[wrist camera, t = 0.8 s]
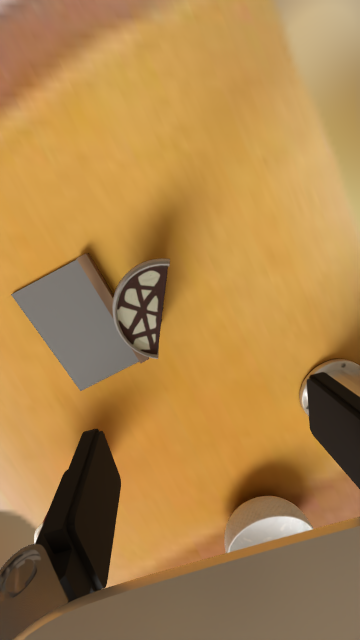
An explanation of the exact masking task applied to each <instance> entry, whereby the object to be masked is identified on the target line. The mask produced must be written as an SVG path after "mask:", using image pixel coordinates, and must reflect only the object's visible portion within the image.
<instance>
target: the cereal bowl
mask: <svg viewBox="0 0 360 640" xmlns="http://www.w3.org/2000/svg"><path fill="white" fill-rule="evenodd" d="M312 529H313V527H312V525H311V524H310V522H309V520H308V519H307V517H306V516H305V515H304V513H303V512H302V511H301V510H300V509H299V508H298V507H297V506H296V505H294V504H293V503H291V502H289V501H288V500H285V499H283V498H280V497H276V496H261V497H256V498H253V499H250V500H248V501H246V502H244V503H243V504H241V505H240V506H239V507H238V508H237V509H236V510H235V511H234V512H233V514H232V515H231V516H230V519H229V520H228V523H227V526H226V530H225V537H224V538H225V550H226V553H229V552H232V551H236V550H239V549H243V548H247V547H250V546H254V545H257V544H261V543H265V542H268V541H272V540H276V539H279V538H283V537H286V536H290V535H294V534H297V533H301V532H305V531H308V530H312Z"/></svg>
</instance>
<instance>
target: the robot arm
mask: <svg viewBox="0 0 360 640" xmlns="http://www.w3.org/2000/svg"><path fill="white" fill-rule="evenodd" d="M300 403H301V406H302V408H303V410H304V411H305V413H306V414H307V415H308V416H309V423H310V430H311V432H312V434H313V436H314V437H315V438H316V439H317V440H318V441H319V443H320V444H321V445H322V446H323V447H324V448H325V450H326V451H327V452H328V453H329V454H330V455H331V456H332V458H333V459H334V460H335V461H336V462H337V463H338V465H339V466H340V467H341V468H342V469H343V470H344V471H345V473H346V474H347V475H348V476H349V477H350V478H351V480H352V481H353V482H354V483H355V484H356V485H357V486H358V488H359V489H360V366H359V365H358V364H356V363H354V362H352V361H350V360H346V359H334V360H330V361H327V362H324V363H322V364H320V365H319V366H317V367H316V368H314V369H313V370H312V371H311V372H310V373H309V374H308V376H307V377H306V378H305V380H304V382H303V384H302V386H301V390H300ZM120 489H121V479H120V475H119V473H118V470H117V467H116V465H115V462H114V459H113V457H112V454H111V451H110V449H109V446H108V443H107V440H106V438H105V435H104V433H103V431H99V430H98V429H93V430H89V431H85V432H83V434H82V436H81V439H80V441H79V444H78V446H77V449H76V451H75V454H74V456H73V459H72V461H71V464H70V466H69V469H68V470H67V471H65V473H64V475H63V477H62V479H61V482H60V484H59V486H58V489H57V491H56V494H55V496H54V499H53V501H52V504H51V506H50V508H49V511H48V513H47V516H46V518H45V521H44V523H43V526H42V528H41V530H40V533H39V535H38V538H37V540H36V543H35V544H31V545H28V546H26V547H24V548H22V549H20V550H19V551H18V552H17V553H15V554H14V555H13V556H12V557H11V558H10V559H9V560H8V561H7V562H6V563H5V564H4V565H3V567H2V568H1V569H0V640H360V517H357V518H353V519H349V520H345V521H342V522H338V523H334V524H331V525H327V526H323V527H319V528H316V529H312V530H308V531H305V532H301V533H297V534H294V535H290V536H286V537H283V538H279V539H276V540H272V541H268V542H265V543H261V544H257V545H254V546H250V547H247V548H243V549H239V550H236V551H232V552H229V553H225V554H221V555H218V556H214V557H211V558H207V559H204V560H200V561H197V562H193V563H190V564H186V565H182V566H179V567H175V568H172V569H168V570H165V571H161V572H158V573H154V574H151V575H147V576H144V577H141V578H137V579H134V580H131V581H128V582H124V583H121V584H118V585H115V586H111V587H108V588H105V587H106V584H107V579H108V572H109V565H110V558H111V551H112V544H113V538H114V531H115V524H116V517H117V510H118V503H119V496H120ZM103 588H105V589H103Z"/></svg>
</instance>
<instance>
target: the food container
mask: <svg viewBox="0 0 360 640" xmlns="http://www.w3.org/2000/svg"><path fill="white" fill-rule="evenodd" d="M169 265H170V259H153V260H149V261H146V262H143V263H141V264H139V265H137V266H135V267H134V268H132V269H131V270H130V271H129V272H128V273H127V274H126V275H125V276H124V277H123V278H122V280H121V281H120V282H119V284H118V286H117V288H116V291H115V294H114V297H113V304H112V309H113V318H114V323H115V326H116V329H117V331H118V333H119V334H120V336H121V338H122V339H123V340H124V341H125V343H126V344H127V345H129V346H130V347H131V348H132V349H133V350H135V351H136V352H138V353H140V354H142V355H144V356H147V357H150V358H155V359H158V348H159V337H160V327H161V321H162V319H161V318H162V310H163V302H164V294H165V287H166V279H167V269H168V266H169Z"/></svg>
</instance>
